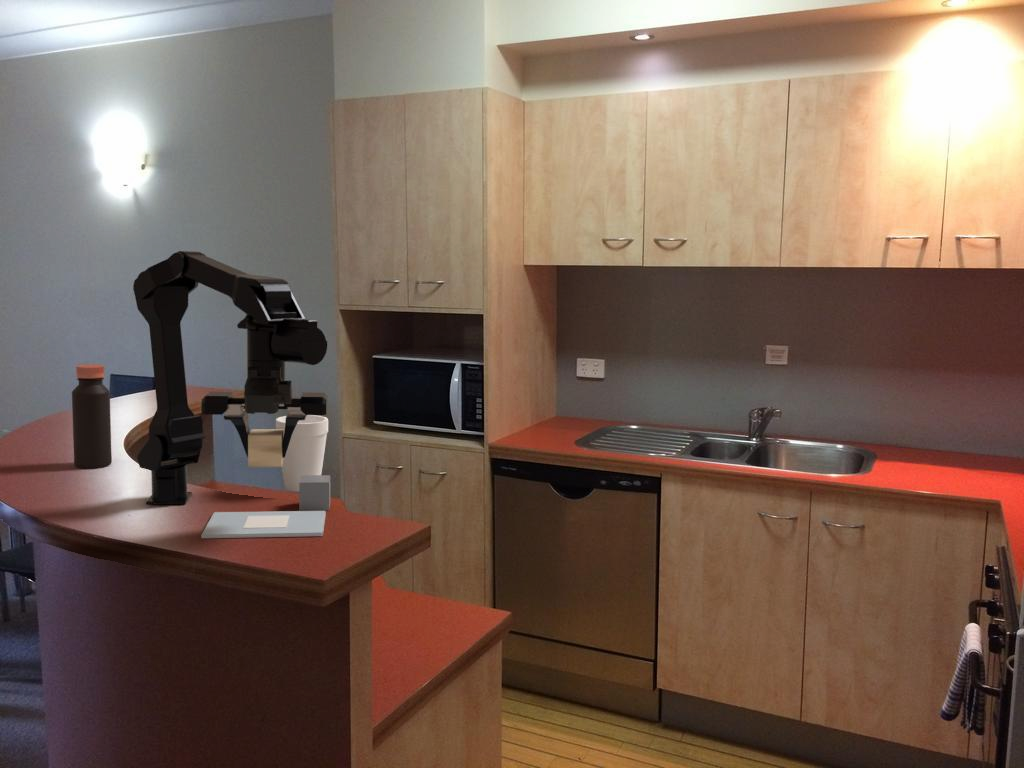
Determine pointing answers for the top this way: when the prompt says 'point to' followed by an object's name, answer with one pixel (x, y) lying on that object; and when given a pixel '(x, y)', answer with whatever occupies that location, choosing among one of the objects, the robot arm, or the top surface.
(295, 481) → the foam cup
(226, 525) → the board
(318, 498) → the charcoal block
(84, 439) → the bottle
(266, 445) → the maple block
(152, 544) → the top surface
